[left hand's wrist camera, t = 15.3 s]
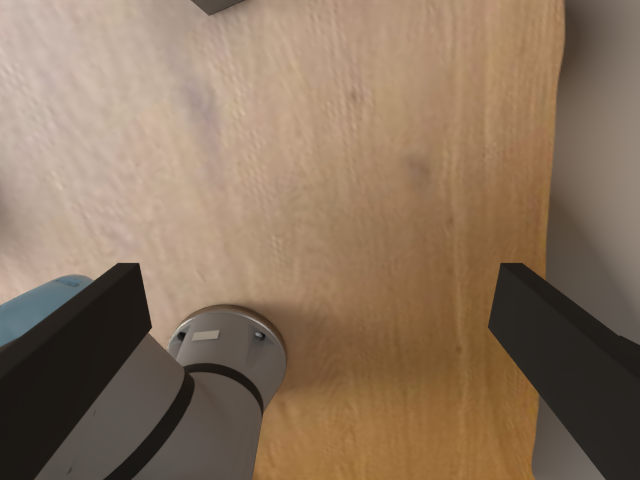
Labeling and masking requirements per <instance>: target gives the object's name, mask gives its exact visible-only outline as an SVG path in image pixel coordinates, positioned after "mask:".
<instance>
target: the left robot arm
mask: <svg viewBox="0 0 640 480" xmlns="http://www.w3.org/2000/svg"><path fill="white" fill-rule="evenodd" d="M151 328H152V325H151V320H150V315H149V310H148V305H147V300H146V295H145V290H144V285H143V280H142V275H141V270H140V265H139V263H117V264H116V265H115V266H113V267H112V268H111V269H109V270H108V271H107V272H105V273H104V274H103V275H101V276H100V277H99V278H97V279H96V280H95V281H94V280H92V279H91V278H89V277H86V276H83V275H67V276H63V277H60V278H57V279H54V280H52V281H50V282H47V283H45V284H43V285H41V286H39V287H37V288H34V289H32V290H30V291H28V292H26V293H24V294H22V295H20V296H18V297H16V298H14V299H12V300H10V301H8V302H6V303H4V304H2V305H0V480H252V476H253V470H254V464H255V458H256V452H257V446H258V440H259V435H260V429H261V423H262V417H263V412H264V411H265V409H266V407H267V406H268V404H269V403H270V401H271V399H272V398H273V396H274V395H275V393H276V391H277V390H278V388H279V387H280V385H281V383H282V381H283V378H284V375H285V371H286V363H287V350H286V345H285V342H284V340H283V338H282V336H281V334H280V333H279V331H278V330H277V329H276V327H275V326H274V325H273V324H272V323H271V322H270V321H268V320H267V319H266V318H264V317H263V316H261V315H260V314H258V313H256V312H254V311H252V310H249V309H246V308H243V307H238V306H232V305H216V306H210V307H206V308H203V309H200V310H198V311H196V312H194V313H192V314H191V315H189V316H188V317H187V318H186V319H184V320H183V322H182V323H181V324H180V325H179V327H178V328H177V329H176V331H175V333H174V334H173V336H172V337H171V339H170V341H169V344H168V348H167V351H166V350H165V349H164V348H163V347H162V346H161V345H160V344H159V343H158V342H157V341H156V340H155V339H154V338H153V337H152V336H151V335H150V334H149V333H148V332H149V331H150V329H151ZM488 328H489V329H490V331H491V332H492V333H493V335H494V336H495V337H496V338H497V340H498V341H499V342H500V344H501V345H502V346H503V348H504V349H505V350H506V351H507V353H508V354H509V355H510V357H511V358H512V359H513V360H514V362H515V363H516V364H517V366H518V367H519V368H520V369H521V371H522V372H523V373H524V375H525V376H526V377H527V379H528V380H529V381H530V382H531V384H532V385H533V386H534V388H535V389H536V390H537V391H538V393H539V394H540V395H541V397H542V398H543V399H544V400H545V402H546V403H547V404H548V406H549V407H550V408H551V409H552V411H553V412H554V413H555V415H556V416H557V417H558V418H559V420H560V421H561V422H562V424H563V425H564V426H565V428H566V429H567V430H568V431H569V433H570V434H571V435H572V437H573V438H574V439H575V440H576V442H577V443H578V444H579V446H580V447H581V448H582V450H583V451H584V452H585V453H586V455H587V456H588V457H589V458H590V460H591V461H592V462H593V464H594V465H595V466H596V468H597V469H598V470H599V471H600V473H601V474H602V475H603V477H604V478H605V479H606V480H640V345H638V344H636V343H634V342H632V341H630V340H628V339H626V338H624V337H622V336H618V335H617V334H615V333H614V332H613V331H611V330H610V329H609V328H607V327H606V326H605V325H604V324H602V323H601V322H600V321H598V320H597V319H596V318H594V317H593V316H592V315H590V314H589V313H588V312H586V311H585V310H584V309H582V308H581V307H580V306H578V305H577V304H576V303H574V302H573V301H572V300H570V299H569V298H568V297H566V296H565V295H564V294H562V293H561V292H560V291H558V290H557V289H556V288H554V287H553V286H552V285H550V284H549V283H548V282H546V281H545V280H544V279H543V278H541V277H540V276H539V275H537V274H536V273H535V272H533V271H532V270H531V269H529V268H528V267H527V266H525V265H524V264H523V263H501V265H500V270H499V275H498V280H497V285H496V290H495V295H494V300H493V305H492V310H491V315H490V320H489V325H488Z"/></svg>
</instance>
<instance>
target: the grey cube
mask: <svg viewBox="0 0 640 480" xmlns="http://www.w3.org/2000/svg"><path fill="white" fill-rule="evenodd" d="M191 1H192V2H194V3H195V4H196V5H197V6H198V7H199V8H201V9H202V10H203V11H204V12H205V13H206V14H208V15H211V14H214V13H216V12H218V11H220V10H223V9H225V8H227V7H229V6H232V5H234V4H236V3H239V2H241V1H243V0H191Z"/></svg>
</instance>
